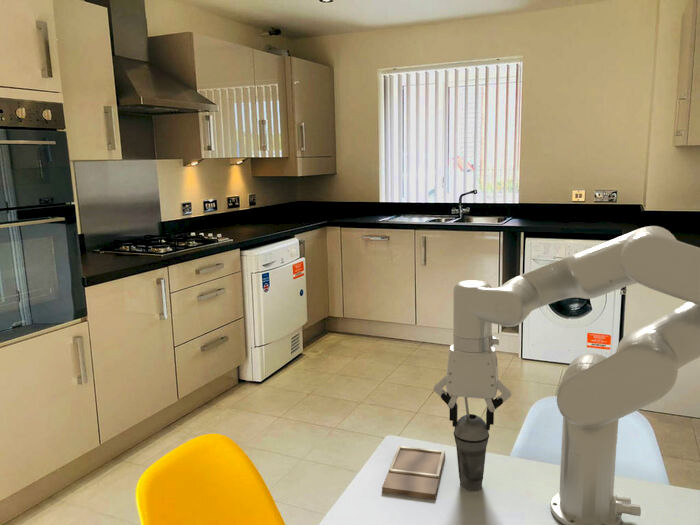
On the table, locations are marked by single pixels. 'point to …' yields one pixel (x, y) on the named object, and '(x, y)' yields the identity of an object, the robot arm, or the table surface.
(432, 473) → the walnut board
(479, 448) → the beverage cup
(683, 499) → the table surface
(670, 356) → the robot arm
